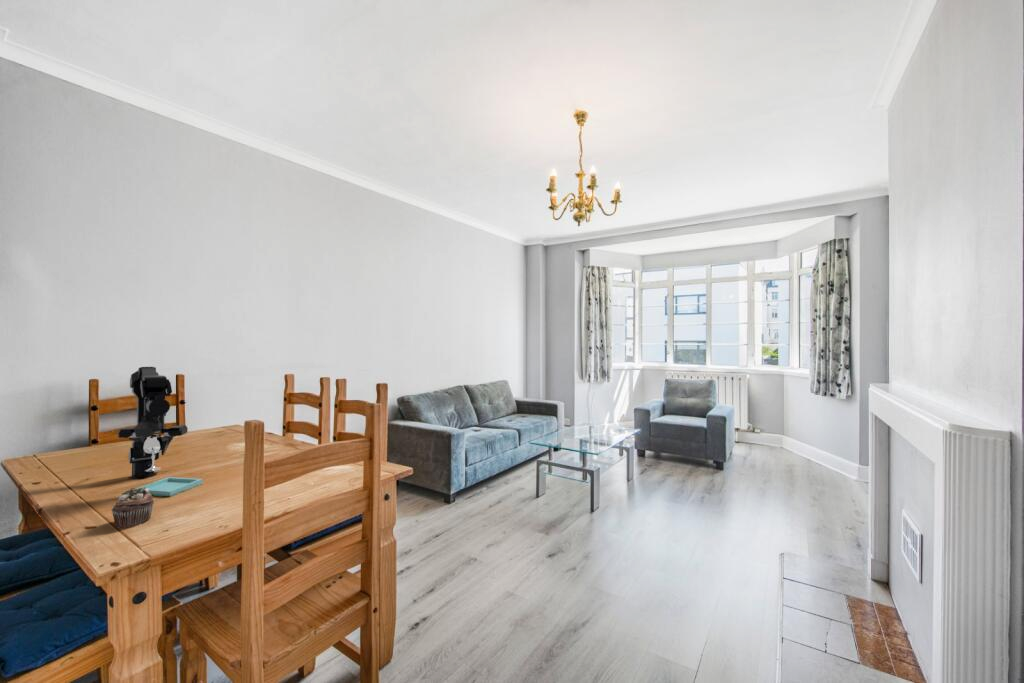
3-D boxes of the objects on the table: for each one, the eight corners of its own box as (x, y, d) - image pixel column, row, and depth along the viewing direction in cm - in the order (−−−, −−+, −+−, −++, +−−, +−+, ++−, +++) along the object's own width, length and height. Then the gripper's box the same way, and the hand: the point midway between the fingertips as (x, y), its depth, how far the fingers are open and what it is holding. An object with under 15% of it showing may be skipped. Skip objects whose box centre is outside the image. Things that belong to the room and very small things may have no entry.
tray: (133, 494, 153) (133, 489, 153) (168, 481, 167) (168, 477, 167) (170, 496, 151) (170, 491, 151) (202, 483, 165) (202, 479, 165)
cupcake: (155, 513, 138) (156, 481, 137) (150, 524, 129) (151, 491, 129) (115, 519, 132) (115, 486, 132) (107, 531, 124) (108, 496, 124)
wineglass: (140, 472, 152) (140, 438, 152) (145, 468, 157) (146, 434, 157) (160, 470, 155) (161, 437, 155) (165, 466, 160) (165, 433, 160)
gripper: (108, 416, 146) (107, 463, 146) (174, 415, 151) (173, 460, 151) (127, 410, 156) (126, 454, 156) (188, 409, 162) (187, 451, 162)
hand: (153, 455), depth 156 cm, fingers closed on wineglass, 5 cm apart
